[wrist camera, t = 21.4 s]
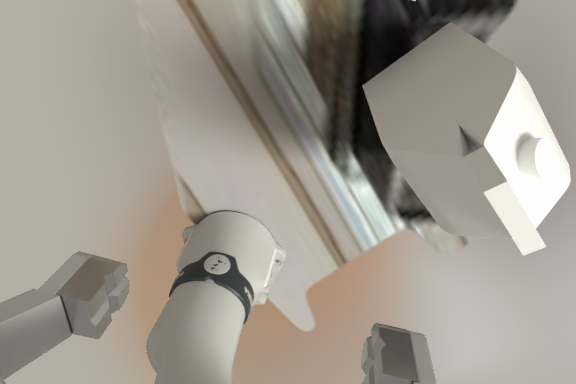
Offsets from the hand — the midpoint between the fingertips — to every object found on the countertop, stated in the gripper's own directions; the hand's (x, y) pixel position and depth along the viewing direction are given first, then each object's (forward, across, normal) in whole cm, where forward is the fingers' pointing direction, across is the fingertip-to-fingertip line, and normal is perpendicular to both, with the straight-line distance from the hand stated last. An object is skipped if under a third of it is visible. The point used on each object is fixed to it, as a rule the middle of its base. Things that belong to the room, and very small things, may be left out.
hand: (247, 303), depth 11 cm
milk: (+37, -14, +1) cm, 40 cm away
